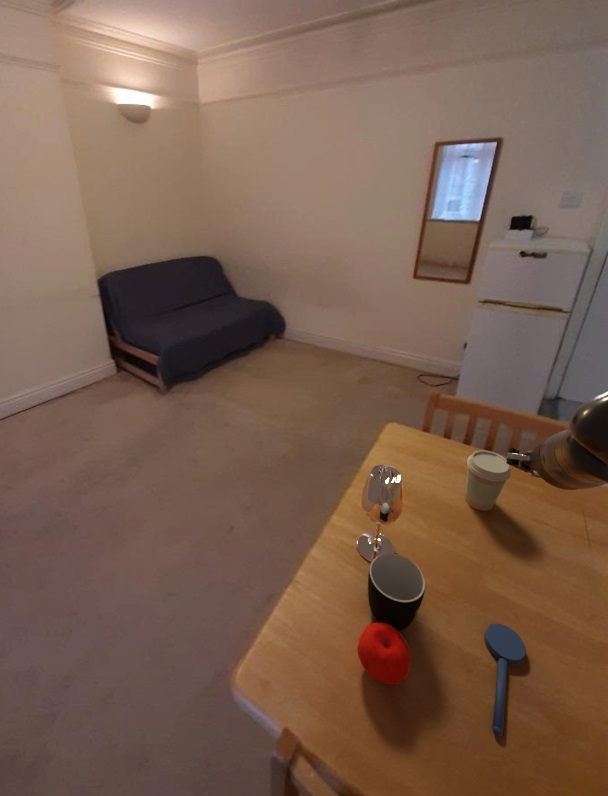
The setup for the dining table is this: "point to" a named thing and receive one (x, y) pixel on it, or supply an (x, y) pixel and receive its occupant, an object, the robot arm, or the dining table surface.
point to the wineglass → (380, 509)
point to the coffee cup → (485, 478)
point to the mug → (395, 590)
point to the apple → (384, 653)
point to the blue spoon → (503, 664)
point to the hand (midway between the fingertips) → (536, 470)
